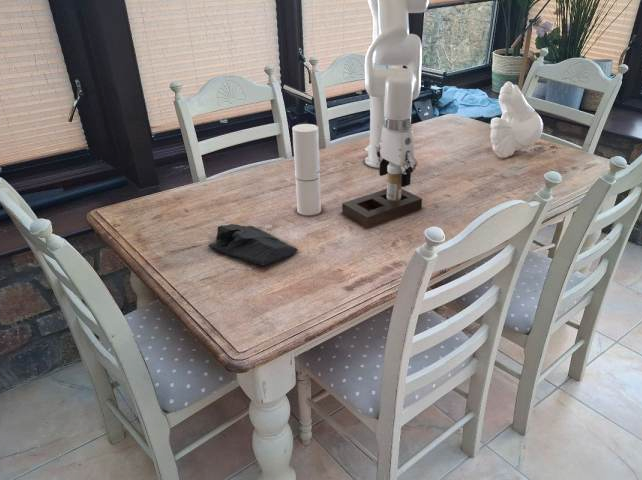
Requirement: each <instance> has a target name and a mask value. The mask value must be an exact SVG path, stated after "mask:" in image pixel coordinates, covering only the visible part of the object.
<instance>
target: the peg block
mask: <svg viewBox="0 0 642 480" xmlns="http://www.w3.org/2000/svg"><path fill="white" fill-rule="evenodd" d="M422 206H423V198H422V197H420V196H418V195H415V194H414V193H413V192H410V191H408V190H405V189H403V188H401V200H400V201H397V202H394V203H392V202H390V201H388V200H387V188H385V189H382V190H379V191H376V192H372V193H370V194H369V193H368V194H366V195H363V196H360V197H357V198H354V199H351V200H348V201H344V202H342V203H341V212H342V215H344V216H346V217H347V218H349V219H351V220H352V221H353V222H355V223H357V224H359V225H360V226H362V227H364V228H366V229H370V228H372V227H376V226H379V225H381V224H383V223H387V222H390V221H392V220H395V219H397V218H401V217H404V216H406V215H409V214H411V213H414V212H417V211H421V210H422Z"/></svg>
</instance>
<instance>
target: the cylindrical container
mask: <svg viewBox="0 0 642 480" xmlns="http://www.w3.org/2000/svg"><path fill="white" fill-rule="evenodd" d="M291 129H292V146H293V161H294V163H293V164H294V179H295V180H294V181H295V193H296V196H295V197H296V208H297V209H296V210H297V213H298V214H299V215H303V216H316V215H318V214H320V213H321V212H322V199H321V198H322V197H321V169H320V166H321V165H320V147H319V146H320V142H319V140H320V139H319V126H318V125H316V124H312V123H299V124H296V125H294V126H293V125H292V128H291Z"/></svg>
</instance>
